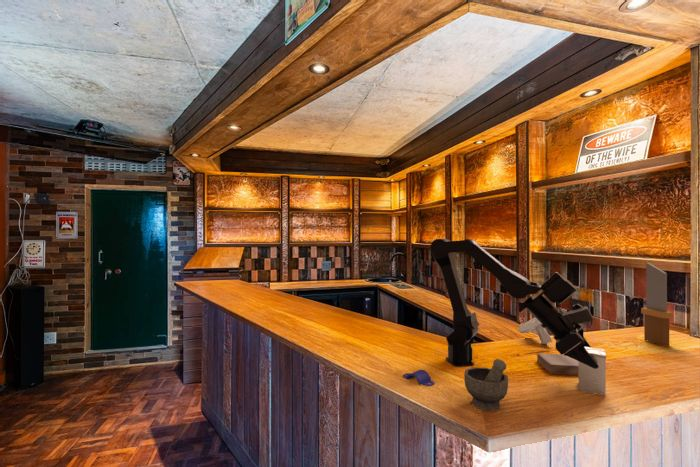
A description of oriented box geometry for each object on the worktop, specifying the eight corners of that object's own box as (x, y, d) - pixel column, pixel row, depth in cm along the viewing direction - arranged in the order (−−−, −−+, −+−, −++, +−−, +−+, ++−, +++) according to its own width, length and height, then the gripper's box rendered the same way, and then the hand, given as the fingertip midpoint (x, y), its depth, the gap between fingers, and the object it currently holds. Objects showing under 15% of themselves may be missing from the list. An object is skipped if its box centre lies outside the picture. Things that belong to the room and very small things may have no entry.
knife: (641, 339, 135) (641, 262, 135) (649, 339, 135) (649, 262, 136) (664, 346, 126) (663, 264, 127) (672, 346, 127) (672, 264, 127)
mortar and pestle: (456, 397, 85) (456, 347, 85) (490, 393, 87) (490, 345, 87) (484, 420, 74) (484, 364, 74) (522, 415, 76) (522, 360, 76)
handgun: (555, 342, 124) (550, 312, 129) (544, 341, 124) (539, 311, 129) (528, 350, 142) (524, 323, 147) (518, 349, 142) (515, 322, 147)
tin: (578, 390, 89) (578, 351, 89) (578, 382, 94) (578, 345, 94) (606, 396, 86) (606, 355, 86) (604, 387, 91) (604, 349, 91)
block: (550, 374, 100) (550, 364, 100) (537, 362, 110) (537, 353, 110) (588, 377, 99) (588, 366, 99) (571, 364, 109) (571, 354, 109)
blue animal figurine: (437, 384, 93) (437, 374, 93) (427, 389, 90) (427, 379, 90) (409, 374, 100) (409, 365, 100) (399, 378, 97) (399, 369, 97)
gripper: (570, 300, 85) (628, 354, 79) (571, 291, 101) (620, 335, 94) (534, 328, 89) (587, 381, 83) (541, 315, 105) (585, 358, 99)
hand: (596, 362), depth 90 cm, fingers open, 9 cm apart
